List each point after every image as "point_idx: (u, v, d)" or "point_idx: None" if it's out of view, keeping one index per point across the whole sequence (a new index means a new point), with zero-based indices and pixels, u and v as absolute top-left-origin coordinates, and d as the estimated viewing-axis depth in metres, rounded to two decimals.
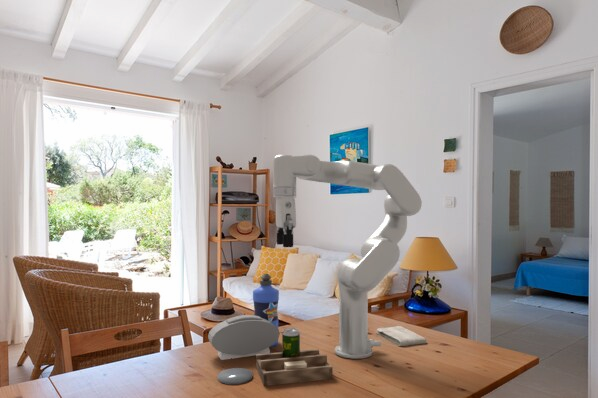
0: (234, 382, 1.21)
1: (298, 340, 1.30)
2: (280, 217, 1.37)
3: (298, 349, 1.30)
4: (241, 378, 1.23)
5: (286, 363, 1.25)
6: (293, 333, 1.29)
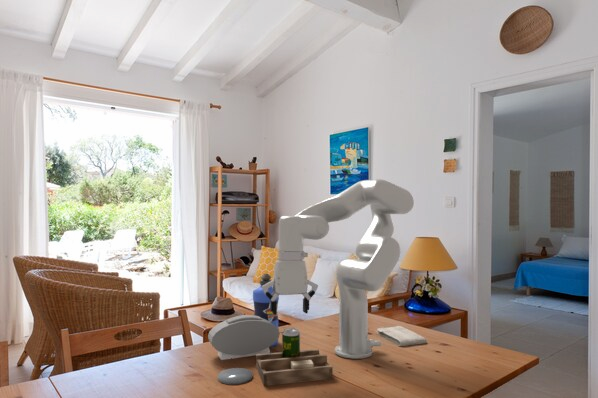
0: (234, 382, 1.21)
1: (298, 340, 1.30)
2: (303, 283, 1.30)
3: (298, 349, 1.30)
4: (241, 378, 1.23)
5: (293, 362, 1.25)
6: (293, 333, 1.29)
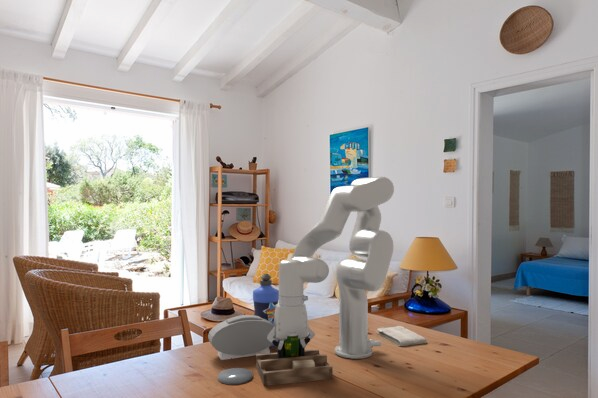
0: (234, 382, 1.21)
1: (298, 340, 1.30)
2: (304, 327, 1.30)
3: (298, 349, 1.30)
4: (241, 378, 1.23)
5: (294, 362, 1.26)
6: (293, 333, 1.29)
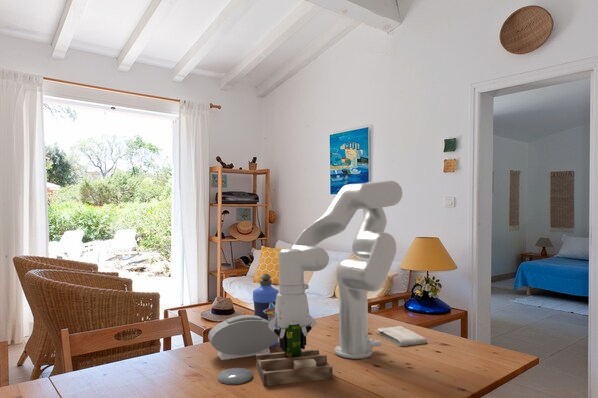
0: (234, 382, 1.21)
1: (300, 328, 1.31)
2: (305, 315, 1.31)
3: (300, 337, 1.31)
4: (241, 378, 1.23)
5: (296, 361, 1.26)
6: (294, 322, 1.30)
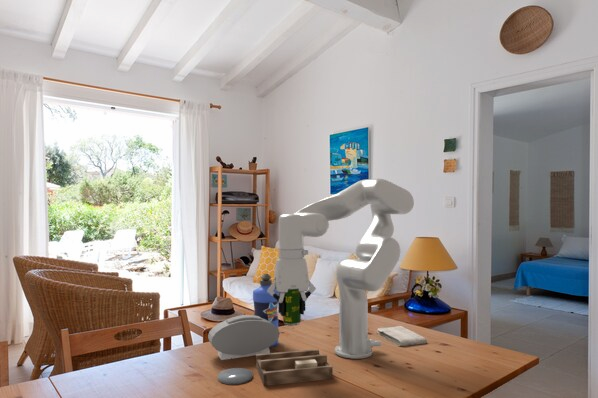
0: (234, 382, 1.21)
1: (299, 293, 1.31)
2: (304, 280, 1.31)
3: (299, 302, 1.31)
4: (241, 378, 1.23)
5: (297, 361, 1.26)
6: (294, 286, 1.30)
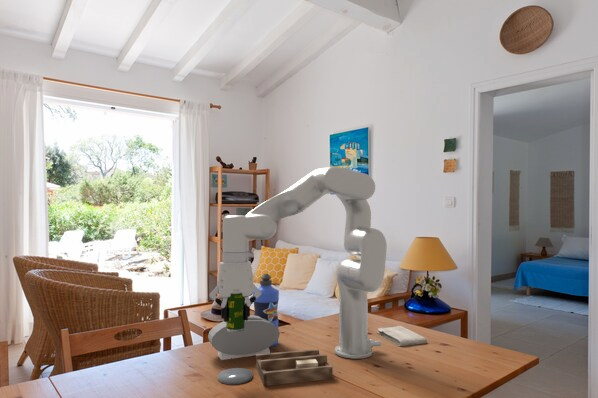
0: (234, 382, 1.21)
1: (242, 298, 1.25)
2: (248, 285, 1.25)
3: (242, 307, 1.25)
4: (241, 378, 1.23)
5: (297, 361, 1.26)
6: (237, 290, 1.24)
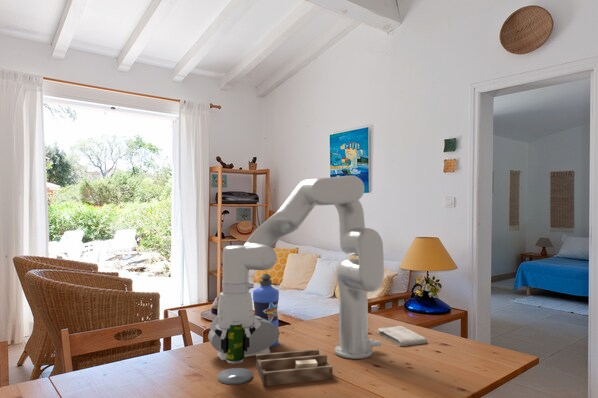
0: (234, 382, 1.21)
1: (242, 329, 1.25)
2: (248, 316, 1.25)
3: (242, 339, 1.25)
4: (241, 378, 1.23)
5: (297, 361, 1.26)
6: (236, 322, 1.24)
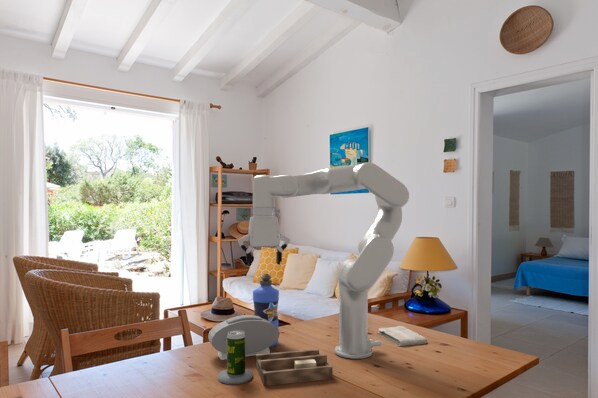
0: (234, 382, 1.21)
1: (243, 343, 1.25)
2: (275, 236, 1.42)
3: (243, 353, 1.25)
4: (241, 378, 1.23)
5: (296, 361, 1.26)
6: (237, 336, 1.24)
